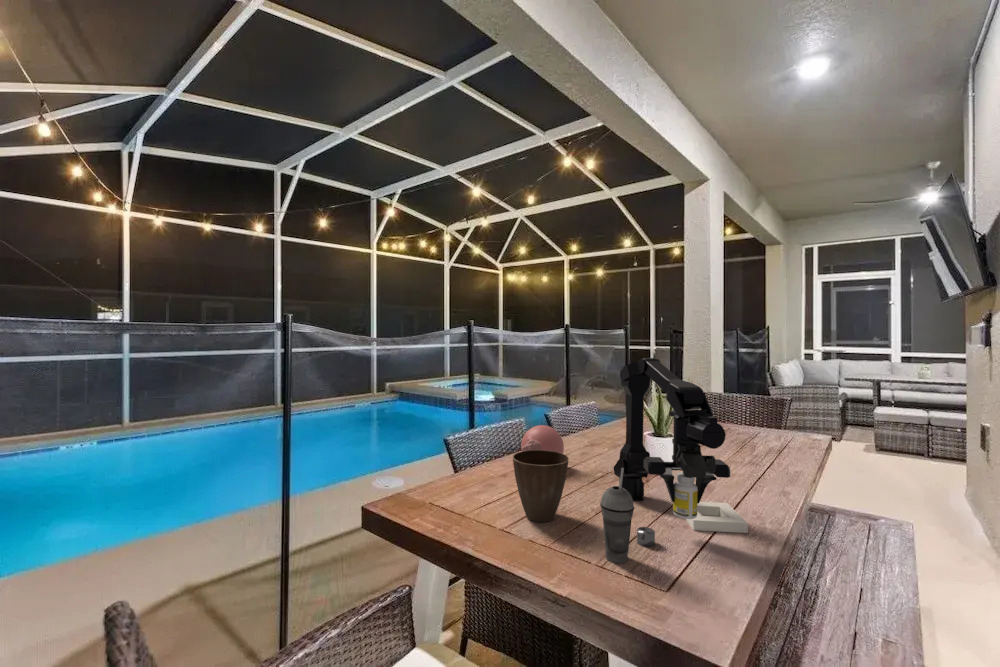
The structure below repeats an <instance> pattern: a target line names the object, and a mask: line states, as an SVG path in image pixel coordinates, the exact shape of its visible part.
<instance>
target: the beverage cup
mask: <svg viewBox="0 0 1000 667" xmlns="http://www.w3.org/2000/svg"><path fill="white" fill-rule="evenodd" d="M623 472H624V468H622V469H621V477H620V485H619V484H618V486H617V485H613V486H610V487H609V488H607V489H606V490H605V491H604V492H603V494H602V496H601V498H600V507H601V508H600V509H601V515H602V524H603V537H604V539H603V540H604V550H605V558H606V560H607V561H609V562H611V563H612V564H613V563H614V564H624V563H626V562H627V561H628V555H629V550H630V549H629V548H630V538H631V530H632V529H631V527H632V519H633V515H634V510H635V505H634V500H633V499H632V497H631V495H630V493H629V492H628V491H627V490H626V489H624V488H622V479H623Z"/></svg>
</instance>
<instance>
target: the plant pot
mask: <svg viewBox="0 0 1000 667" xmlns="http://www.w3.org/2000/svg"><path fill="white" fill-rule="evenodd" d="M512 462H513V465H512V466H513V469H514V470H513V472H514V478H515V482H516V487H517V491H518V494H519V499H520V502H521V504H522V508H523V511H524V513H525V516H526V518H527V519H528V520H530V521H532V522H536V523H547V522H551V521H553V520H554V519H555V516H556V514H557V511H558V508H559V506H560V502H561V499H562V495H563V491H564V487H565V483H566V478H567V473H568V466H569V456H568V455H566V454H564V453H563V454H562V453H559V452H554V451H546V450H529V451H522V450H521V451H518V452H516V453H513V455H512Z"/></svg>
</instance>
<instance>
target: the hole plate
mask: <svg viewBox="0 0 1000 667" xmlns="http://www.w3.org/2000/svg"><path fill="white" fill-rule="evenodd" d="M685 521H686V522H687V524H688V526H690V528H691V529H692V531H705V532H721V533H722V532H724V533H727V532H728V533H739V534H740V533H741V534H742V533H743V534H748V533H749V532H748V531H749V523H748V522H747V521H746V520H745V518H744V517H742V516H741V515H740V514H739V513H738V512H737V511H736V510H735V509H734V508H733V507H732V506H731V505H729V504H728V503H727V502H714V501H712V502H711V501H700V502H699V503H697V517H696V518H694V519H685Z"/></svg>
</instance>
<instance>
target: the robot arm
mask: <svg viewBox="0 0 1000 667" xmlns="http://www.w3.org/2000/svg"><path fill="white" fill-rule="evenodd" d="M619 377H620V378H619V379H620V385H621V387H622V388H623V389H622V390H624V392H625V394H626V408H625V410H626V411H625V412H626V418H625V420H626V421H625V428H626V429H625V443H624V444H623V445H622V448H621V449H620V451H619V458H618V460H617V461H616V463H615V464H614V466H613V473H614V476H616V477H618V481H619V482H618V486H619V485H620V477H621V469H622V468H624V472H623V479H622V488H624V489H626V490H627V491H628V492H629V493H630V495H631V497H632V499H633V501H644V496H645V483H644V481H643V478H648V475H655V476H657V475H658V476H659V477H660V478H661V479H663V480H664V481H663V482H664V483H665V485H666V489H667V492H668V494H669V497H670V500H671V502H672V503H673V502H674V499H675V495H674V483H675V476H674V475H673V474H672V472H673V471H681V472H683V474H684V476H685V477H687V478H692V477H695V485H696V486H697V489H698V493H697V503H699V502H701V499H703V495H704V493H705V490H706V488H707V487H708V486H709V484H710V483H711V482H712V481H717V478H727V479H729V478H731V468H730V466H729V464H727V463H725V461H723V460H721V459H720V458H719V459H717V458H715V456H714V455H707V454H706V455H703V454H702V448H701V446H704V447H706V448H708V449H712V450H713V449H718V448H720V447H721V446H723V444H724V442H725V440H726V436H727V434H726V431H725V429H724V427H723V426H722V425H721V424H720V423H718V417H717V416H716V417H715V416H714V415H713V412H712V408H711V405H710V404H709V401H708V399H707V397H706V395H705V392H704V391H703V389H702V388H701V387H700V386H699V385H697V384H695V383H693V382H691V381H690V382H689V381H686V380H682V379H680V378H679V377H678V376H677V375H676V374H675V373H673V372H672V371H671V370H670V369H669V368H667V367H666V366H665V365H663V364H662V363H661V361H660V359H658V358H656V357H643V358H640V359H639V360H637V361H634V362H632V363H629V364H627V365H624V366H623V367H622V368H621V370H620V372H619ZM651 380H652V381H653V382H654V384H656V385H657V386H658V387H659V388H660V389H661V390H662V391H664V393H665V394H666V396H665V397H666V398H665V399H666V401H667V402H668V404H669V405H670V406H671V407H672V410H671V411H670V412H669V413H668V415H669V416H670V417H672V418H673V430H672V431H673V432H672V433H673V434H672V435H673V436H672V437H673V438H672V440H671V441H672V442H671V443H672V446H673V448H672V450H673V451H672V455H671V460H672V461H664V460H663V459H662V457H660V456H651V454H650V451H647V449H646V447H645V445H644V408H645V407H644V406H645V405H644V404H645V401H644V400H645V395H646V394H647V392H648V390H649V389H650V387H651Z"/></svg>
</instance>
